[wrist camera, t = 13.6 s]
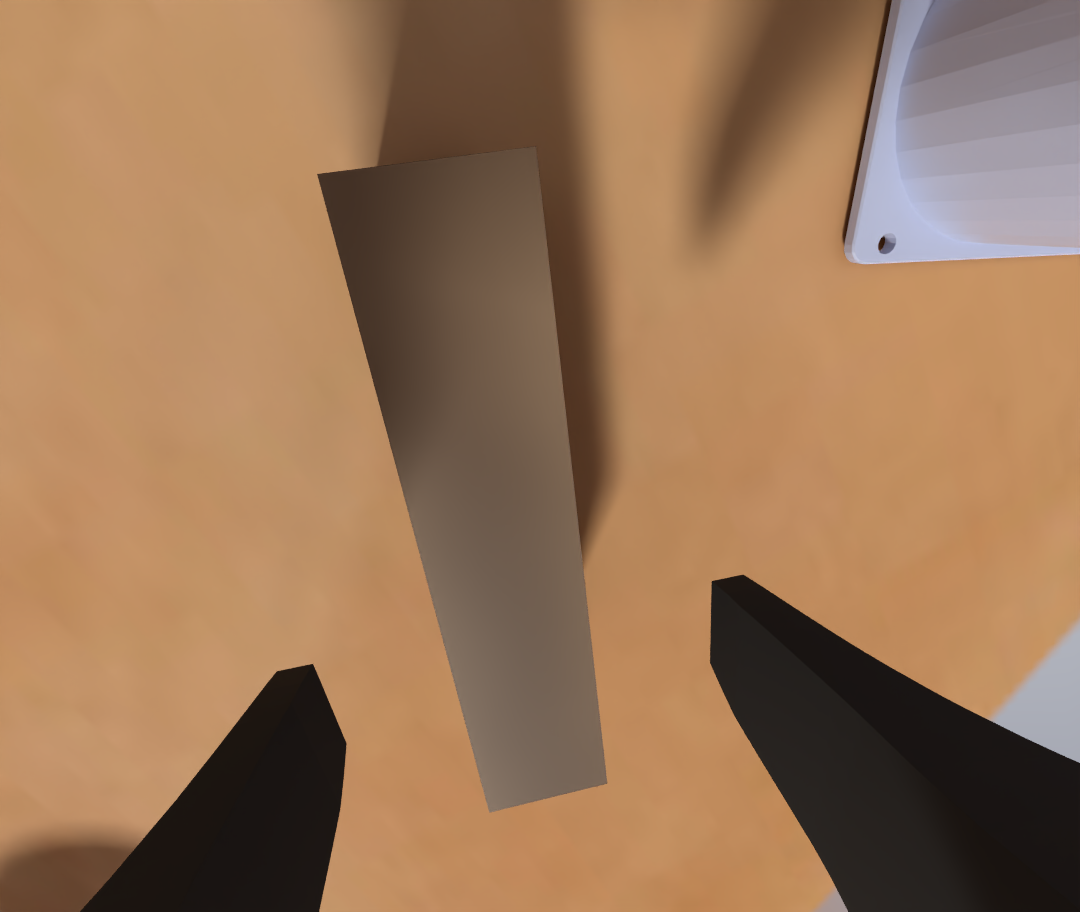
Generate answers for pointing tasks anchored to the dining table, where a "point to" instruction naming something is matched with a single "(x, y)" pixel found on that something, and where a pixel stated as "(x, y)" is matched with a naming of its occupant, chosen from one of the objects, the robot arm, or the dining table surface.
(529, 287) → the dark wooden brick
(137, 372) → the dining table surface
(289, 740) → the robot arm
